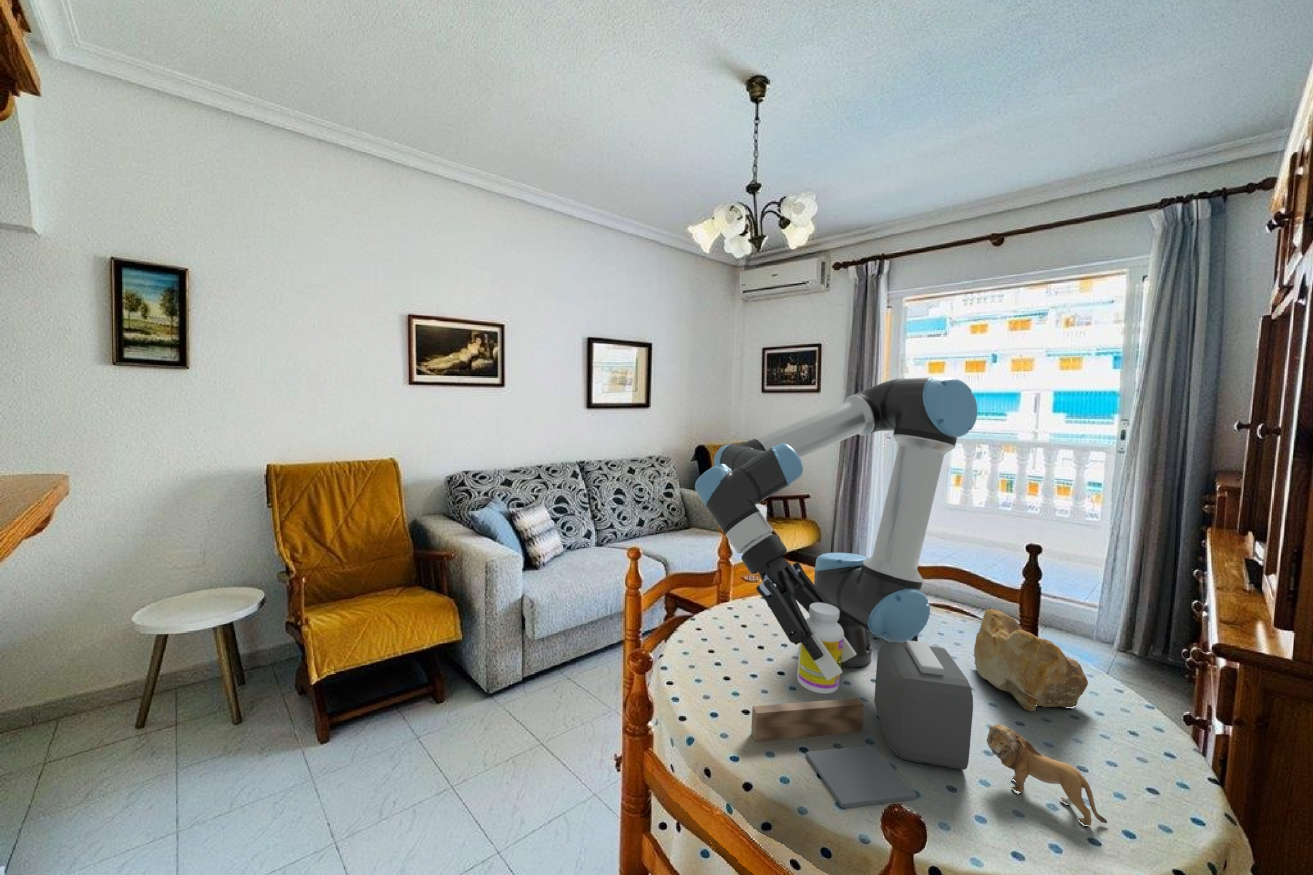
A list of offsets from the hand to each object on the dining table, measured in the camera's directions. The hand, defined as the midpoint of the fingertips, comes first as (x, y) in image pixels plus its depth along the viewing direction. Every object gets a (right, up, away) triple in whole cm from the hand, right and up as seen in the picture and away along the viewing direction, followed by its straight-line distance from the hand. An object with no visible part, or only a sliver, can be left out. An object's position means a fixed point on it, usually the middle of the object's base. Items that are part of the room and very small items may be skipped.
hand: (842, 666), depth 82 cm
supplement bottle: (-3, -4, +3) cm, 6 cm away
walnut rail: (-3, -15, +8) cm, 18 cm away
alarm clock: (+15, -16, +8) cm, 23 cm away
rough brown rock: (+47, -16, +23) cm, 55 cm away
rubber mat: (+2, -16, -2) cm, 16 cm away
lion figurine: (+27, -18, -5) cm, 33 cm away
